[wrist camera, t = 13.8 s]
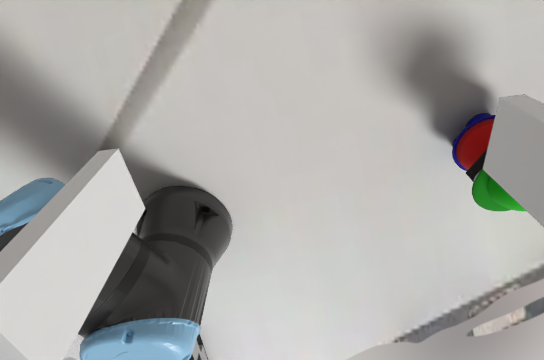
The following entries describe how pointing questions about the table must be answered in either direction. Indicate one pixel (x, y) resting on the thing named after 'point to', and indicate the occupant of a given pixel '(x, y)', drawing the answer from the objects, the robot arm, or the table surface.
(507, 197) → the toy
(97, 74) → the table surface
